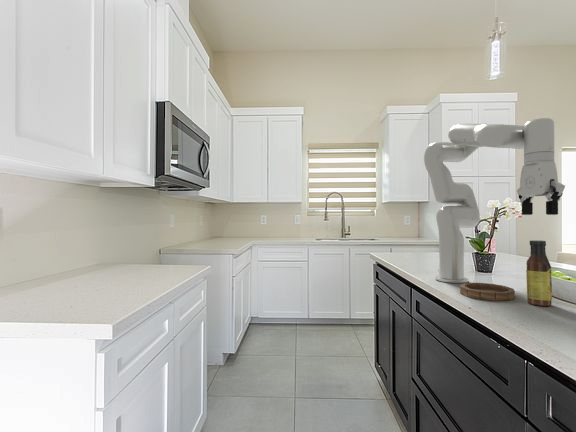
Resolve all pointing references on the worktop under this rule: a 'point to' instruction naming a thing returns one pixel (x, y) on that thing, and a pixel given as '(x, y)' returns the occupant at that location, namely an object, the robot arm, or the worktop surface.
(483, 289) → the walnut bowl
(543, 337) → the worktop surface
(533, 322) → the worktop surface
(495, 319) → the worktop surface
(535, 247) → the sauce bottle
